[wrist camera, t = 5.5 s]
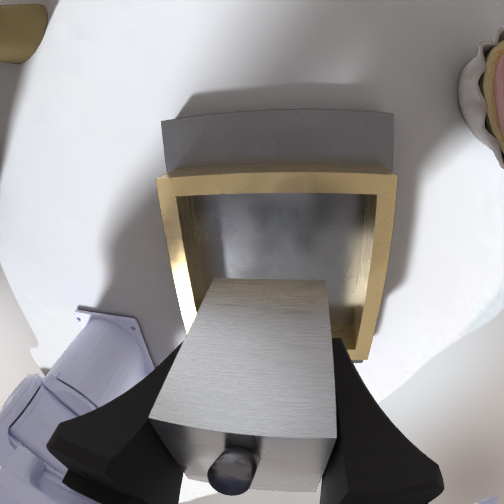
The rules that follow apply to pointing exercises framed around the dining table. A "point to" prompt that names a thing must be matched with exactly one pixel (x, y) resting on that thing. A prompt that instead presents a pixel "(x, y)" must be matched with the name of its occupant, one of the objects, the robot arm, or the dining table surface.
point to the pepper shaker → (21, 31)
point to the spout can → (253, 388)
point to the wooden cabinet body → (283, 207)
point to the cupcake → (485, 95)
